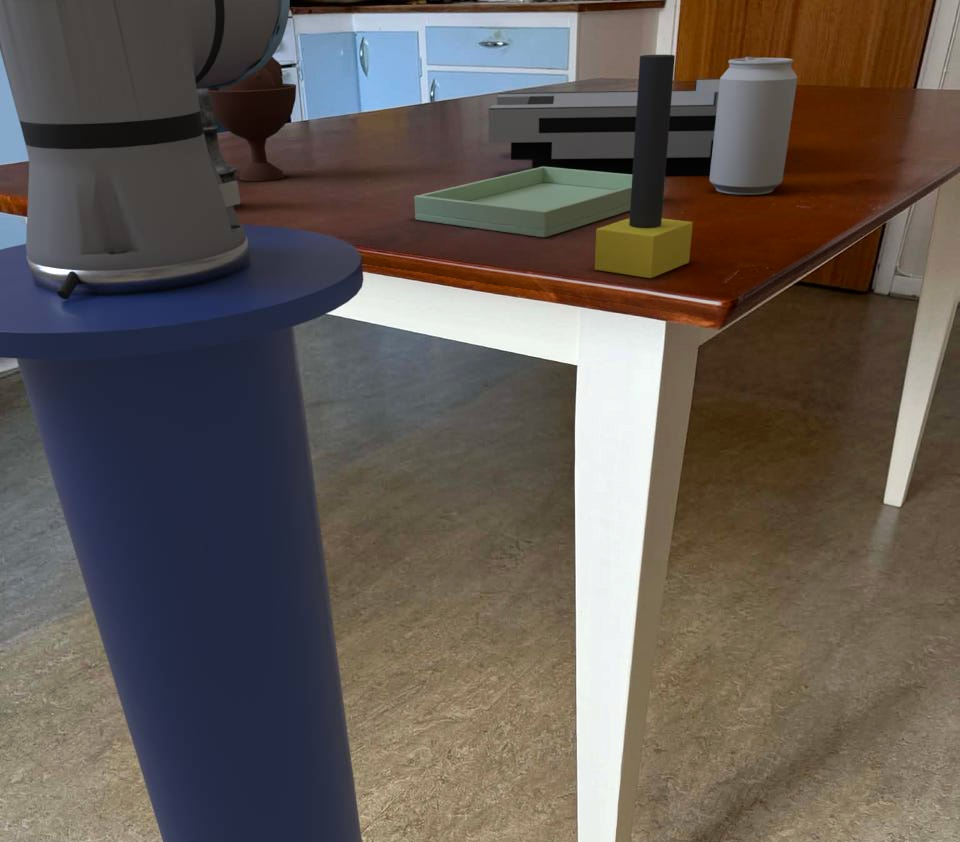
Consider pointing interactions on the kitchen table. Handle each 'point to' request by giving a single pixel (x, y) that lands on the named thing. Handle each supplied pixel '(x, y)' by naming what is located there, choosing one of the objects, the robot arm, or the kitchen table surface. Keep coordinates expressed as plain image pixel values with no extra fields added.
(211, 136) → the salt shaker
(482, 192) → the tray
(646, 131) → the sponge wand
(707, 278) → the kitchen table surface
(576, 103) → the game console
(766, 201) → the kitchen table surface
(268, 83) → the ice cream bowl
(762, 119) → the can
